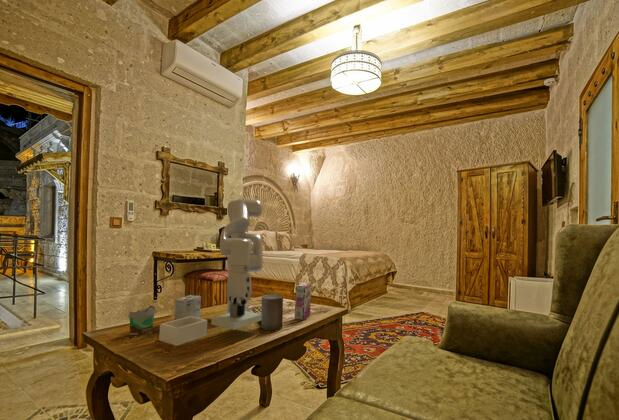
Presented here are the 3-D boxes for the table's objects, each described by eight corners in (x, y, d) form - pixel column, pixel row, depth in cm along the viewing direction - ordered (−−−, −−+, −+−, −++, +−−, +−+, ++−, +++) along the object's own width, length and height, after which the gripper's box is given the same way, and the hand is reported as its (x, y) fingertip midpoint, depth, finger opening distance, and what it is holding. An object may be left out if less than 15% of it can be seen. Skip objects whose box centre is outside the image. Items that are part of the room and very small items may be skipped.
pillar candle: (286, 326, 144) (287, 292, 145) (274, 331, 135) (275, 296, 136) (268, 323, 148) (269, 290, 150) (256, 328, 140) (257, 294, 141)
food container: (140, 339, 122) (142, 313, 122) (127, 338, 123) (128, 312, 124) (161, 330, 134) (163, 306, 134) (149, 328, 135) (150, 305, 136)
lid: (239, 315, 139) (240, 298, 139) (261, 320, 132) (262, 302, 133) (211, 324, 125) (212, 305, 125) (234, 329, 118) (234, 309, 119)
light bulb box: (188, 317, 154) (190, 294, 155) (200, 318, 152) (201, 295, 153) (173, 323, 144) (174, 299, 145) (185, 324, 142) (186, 300, 143)
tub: (189, 333, 131) (190, 315, 131) (206, 337, 126) (207, 319, 126) (158, 343, 119) (160, 324, 119) (176, 348, 114) (177, 328, 114)
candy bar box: (303, 320, 153) (304, 286, 154) (294, 319, 155) (295, 285, 156) (310, 315, 164) (311, 283, 165) (301, 314, 165) (302, 282, 166)
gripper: (260, 269, 129) (258, 315, 128) (231, 266, 137) (229, 310, 136) (248, 271, 123) (246, 319, 121) (218, 268, 131) (216, 313, 130)
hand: (237, 314), depth 129 cm, fingers closed on lid, 2 cm apart
